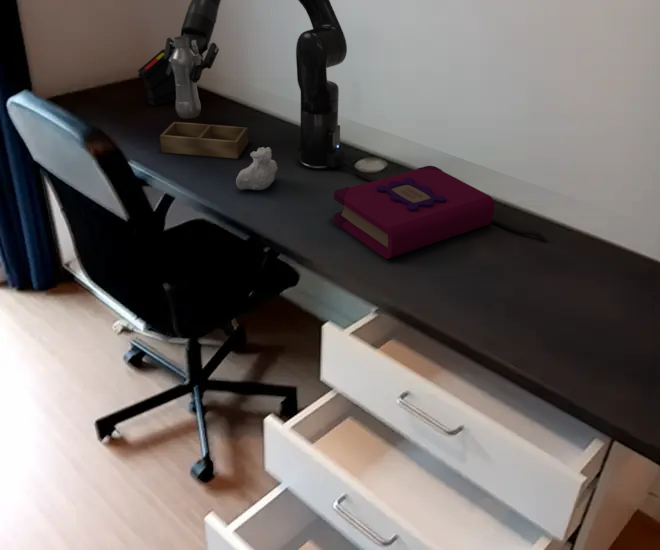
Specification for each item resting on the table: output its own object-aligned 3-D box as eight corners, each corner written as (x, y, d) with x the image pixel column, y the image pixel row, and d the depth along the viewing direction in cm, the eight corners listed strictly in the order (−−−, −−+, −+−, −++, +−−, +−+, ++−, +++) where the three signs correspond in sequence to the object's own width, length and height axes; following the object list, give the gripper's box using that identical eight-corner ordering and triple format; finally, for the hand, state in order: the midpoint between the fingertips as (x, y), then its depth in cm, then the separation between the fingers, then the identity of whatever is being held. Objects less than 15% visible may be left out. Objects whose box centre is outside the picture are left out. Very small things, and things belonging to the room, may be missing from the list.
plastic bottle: (171, 120, 184) (162, 40, 173) (184, 111, 189) (175, 33, 179) (194, 122, 182) (186, 42, 172) (206, 114, 188) (199, 35, 177)
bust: (241, 203, 167) (260, 177, 158) (223, 177, 168) (241, 150, 159) (278, 188, 175) (298, 162, 166) (260, 163, 176) (279, 136, 167)
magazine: (191, 90, 224) (170, 50, 213) (162, 117, 219) (139, 78, 208) (184, 88, 226) (163, 48, 215) (154, 114, 222) (131, 75, 210)
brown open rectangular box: (248, 143, 193) (247, 127, 190) (237, 158, 184) (237, 142, 181) (175, 137, 195) (173, 121, 193) (161, 152, 186) (159, 135, 184)
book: (491, 227, 155) (497, 196, 151) (389, 263, 142) (392, 229, 138) (428, 191, 170) (431, 162, 166) (330, 220, 156) (331, 188, 152)
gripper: (168, 9, 181) (149, 68, 177) (220, 14, 177) (201, 75, 173) (181, 26, 188) (162, 83, 184) (231, 31, 184) (213, 90, 181)
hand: (181, 79), depth 179 cm, fingers closed on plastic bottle, 6 cm apart
